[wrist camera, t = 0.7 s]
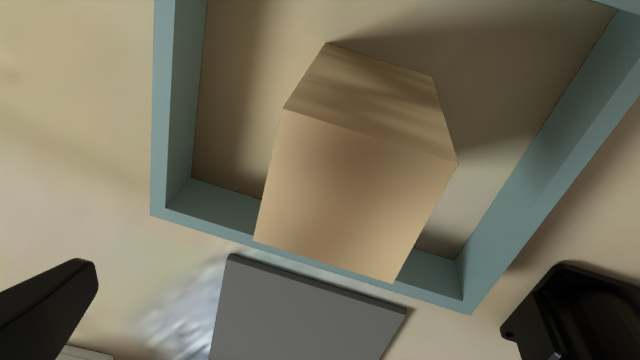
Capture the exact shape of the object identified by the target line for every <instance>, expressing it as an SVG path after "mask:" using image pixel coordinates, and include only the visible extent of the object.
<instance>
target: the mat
mask: <svg viewBox="0 0 640 360" xmlns="http://www.w3.org/2000/svg"><path fill="white" fill-rule="evenodd" d="M405 316H406V309H404V308H400V307H397V306H394V305H391V304H388V303H385V302H381V301H378V300H375V299H372V298H369V297H365V296H362V295H359V294H356V293H353V292H349V291H346V290H343V289H340V288H337V287H333V286H330V285H327V284H324V283H321V282H318V281H314V280H311V279H308V278H305V277H302V276H298V275H295V274H292V273H289V272H286V271H282V270H279V269H276V268H273V267H270V266H266V265H263V264H260V263H257V262H254V261H250V260H247V259H244V258H241V257H238V256H235V255H231V254H229V256H228V258H227V260H226V265H225V271H224V277H223V282H222V288H221V293H220V299H219V304H218V310H217V315H216V321H215V326H214V332H213V338H212V343H211V349H210V354H209V360H379V358H380V357H381V355H382V354H383V352H384V350H385V349H386V347H387V345H388V344H389V342H390V341H391V339H392V337H393V336H394V334H395V333H396V331H397V329H398V328H399V326H400V324H401V323H402V321H403V320H404V318H405Z"/></svg>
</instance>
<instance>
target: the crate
mask: <svg viewBox="0 0 640 360" xmlns="http://www.w3.org/2000/svg"><path fill="white" fill-rule="evenodd" d="M590 1H594V2H597V3H600V4H603V5H606V6H609V7H612V8H615V9H618V11H617V12H616V14H615V15H614V17H613V18H612V20H611V21H610V23H609V24H608V26H607V27H606V29H605V31H604V32H603V34H602V35H601V37H600V38H599V40H598V41H597V43H596V44H595V46H594V47H593V49H592V51H591V52H590V54H589V55H588V57H587V58H586V60H585V61H584V63H583V64H582V66H581V67H580V69H579V71H578V72H577V74H576V75H575V77H574V78H573V80H572V81H571V83H570V84H569V86H568V88H567V89H566V91H565V92H564V94H563V95H562V97H561V98H560V100H559V101H558V103H557V104H556V106H555V108H554V109H553V111H552V112H551V114H550V115H549V117H548V118H547V120H546V121H545V123H544V124H543V126H542V128H541V129H540V131H539V132H538V134H537V135H536V137H535V138H534V140H533V141H532V143H531V144H530V146H529V148H528V149H527V151H526V152H525V154H524V155H523V157H522V158H521V160H520V161H519V163H518V164H517V166H516V168H515V169H514V171H513V172H512V174H511V175H510V177H509V178H508V180H507V181H506V183H505V184H504V186H503V188H502V189H501V191H500V192H499V194H498V195H497V197H496V198H495V200H494V201H493V203H492V205H491V206H490V208H489V209H488V211H487V212H486V214H485V215H484V217H483V218H482V220H481V221H480V223H479V225H478V226H477V228H476V229H475V231H474V232H473V234H472V235H471V237H470V238H469V240H468V241H467V243H466V245H465V246H464V248H463V249H462V251H461V252H460V254H459V255H458V257H457V258H456V260H455V261H453V260H450V259H447V258H444V257H441V256H437V255H434V254H431V253H428V252H425V251H422V250H418V249H415V248H412V249H411V251H410V253H409V255H408V257H407V258H406V260H405V262H404V264H403V266H402V268H401V269H400V271H399V273H398V275H397V277H396V279H395V280H394V282H393V284H390V283H387V282H384V281H380V280H377V279H374V278H371V277H368V276H364V275H361V274H358V273H355V272H352V271H348V270H345V269H342V268H339V267H336V266H332V265H329V264H326V263H323V262H320V261H316V260H313V259H310V258H307V257H304V256H300V255H297V254H294V253H291V252H288V251H284V250H281V249H278V248H275V247H272V246H268V245H265V244H262V243H259V242H256V241H253V236H254V232H255V228H256V223H257V219H258V214H259V210H260V205H261V201H262V200H259V199H256V198H253V197H250V196H247V195H243V194H240V193H237V192H234V191H231V190H228V189H224V188H221V187H218V186H215V185H212V184H208V183H205V182H202V181H199V180H196V179H193V178H191V171H192V160H193V149H194V138H195V127H196V116H197V105H198V94H199V83H200V73H201V62H202V51H203V40H204V29H205V18H206V7H207V0H154V38H153V86H152V133H151V181H150V215H151V216H154V217H157V218H160V219H164V220H167V221H170V222H173V223H176V224H179V225H183V226H186V227H189V228H192V229H195V230H199V231H202V232H205V233H208V234H211V235H215V236H218V237H221V238H224V239H227V240H231V241H234V242H237V243H240V244H243V245H246V246H250V247H253V248H256V249H259V250H262V251H266V252H269V253H272V254H275V255H278V256H282V257H285V258H288V259H291V260H294V261H297V262H301V263H304V264H307V265H310V266H313V267H317V268H320V269H323V270H326V271H329V272H333V273H336V274H339V275H342V276H345V277H348V278H352V279H355V280H358V281H361V282H364V283H368V284H371V285H374V286H377V287H380V288H384V289H387V290H390V291H393V292H396V293H399V294H403V295H406V296H409V297H412V298H415V299H419V300H422V301H425V302H428V303H431V304H435V305H438V306H441V307H444V308H447V309H451V310H454V311H457V312H460V313H463V314H466V315H471V314H472V313H473V312H474V310H475V309H476V308H477V306H478V305H479V304H480V302H481V301H482V300H483V299H484V297H485V296H486V295H487V293H488V292H489V291H490V289H491V288H492V287H493V286H494V284H495V283H496V282H497V280H498V279H499V278H500V276H501V275H502V274H503V273H504V271H505V270H506V269H507V267H508V266H509V265H510V263H511V262H512V261H513V259H514V258H515V257H516V256H517V254H518V253H519V252H520V250H521V249H522V248H523V246H524V245H525V244H526V243H527V241H528V240H529V239H530V237H531V236H532V235H533V233H534V232H535V231H536V230H537V228H538V227H539V226H540V224H541V223H542V222H543V220H544V219H545V218H546V217H547V215H548V214H549V213H550V211H551V210H552V209H553V207H554V206H555V205H556V203H557V202H558V201H559V200H560V198H561V197H562V196H563V194H564V193H565V192H566V190H567V189H568V188H569V187H570V185H571V184H572V183H573V181H574V180H575V179H576V177H577V176H578V175H579V174H580V172H581V171H582V170H583V168H584V167H585V166H586V164H587V163H588V162H589V161H590V159H591V158H592V157H593V155H594V154H595V153H596V151H597V150H598V149H599V147H600V146H601V145H602V144H603V142H604V141H605V140H606V138H607V137H608V136H609V134H610V133H611V132H612V131H613V129H614V128H615V127H616V125H617V124H618V123H619V121H620V120H621V119H622V118H623V116H624V115H625V114H626V112H627V111H628V110H629V108H630V107H631V106H632V105H633V103H634V102H635V101H636V99H637V98H638V97H639V95H640V0H590Z"/></svg>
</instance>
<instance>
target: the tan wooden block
mask: <svg viewBox="0 0 640 360" xmlns="http://www.w3.org/2000/svg"><path fill="white" fill-rule="evenodd" d="M457 165H458V161H457V158H456V154H455V151H454V148H453V144H452V141H451V138H450V134H449V131H448V128H447V124H446V121H445V118H444V114H443V111H442V108H441V104H440V101H439V98H438V94H437V91H436V88H435V84H434V81H433V78H432V77H431V76H428V75H425V74H421V73H418V72H415V71H412V70H409V69H406V68H403V67H399V66H396V65H393V64H390V63H387V62H384V61H381V60H377V59H374V58H371V57H368V56H365V55H362V54H358V53H355V52H352V51H349V50H346V49H343V48H340V47H336V46H333V45H330V44H327V43H325V44H324V46H323V47H322V49H321V50H320V52H319V53H318V55H317V56H316V58H315V59H314V61H313V62H312V64H311V65H310V67H309V68H308V70H307V71H306V73H305V75H304V76H303V78H302V79H301V81H300V82H299V84H298V85H297V87H296V88H295V90H294V91H293V93H292V94H291V96H290V97H289V99H288V100H287V102H286V103H285V105H284V106H283V108H282V112H281V116H280V121H279V125H278V130H277V134H276V138H275V143H274V147H273V152H272V156H271V161H270V165H269V170H268V174H267V179H266V183H265V187H264V192H263V196H262V201H261V205H260V210H259V214H258V219H257V223H256V228H255V232H254V236H253V241H256V242H259V243H262V244H265V245H268V246H272V247H275V248H278V249H281V250H284V251H288V252H291V253H294V254H297V255H300V256H304V257H307V258H310V259H313V260H316V261H320V262H323V263H326V264H329V265H332V266H336V267H339V268H342V269H345V270H348V271H352V272H355V273H358V274H361V275H364V276H368V277H371V278H374V279H377V280H380V281H384V282H387V283H390V284H393V282H394V280H395V279H396V277H397V275H398V273H399V271H400V269H401V268H402V266H403V264H404V262H405V260H406V258H407V257H408V255H409V253H410V251H411V249H412V248H413V246H414V244H415V242H416V240H417V238H418V237H419V235H420V233H421V231H422V229H423V227H424V226H425V224H426V222H427V220H428V218H429V217H430V215H431V213H432V211H433V209H434V207H435V206H436V204H437V202H438V200H439V198H440V196H441V195H442V193H443V191H444V189H445V187H446V186H447V184H448V182H449V180H450V178H451V176H452V175H453V173H454V171H455V169H456V167H457Z"/></svg>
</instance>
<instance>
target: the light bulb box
mask: <svg viewBox="0 0 640 360" xmlns="http://www.w3.org/2000/svg"><path fill="white" fill-rule="evenodd" d="M55 360H114V358H113V356H111V355H108V354H104V353H99V352H95V351H91V350H87V349H82V348H78V347H74V346H69V345H65V346H64V348H63V349H62V351H61V352H60V354H59V355H58V357H57V358H56V359H55Z"/></svg>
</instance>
